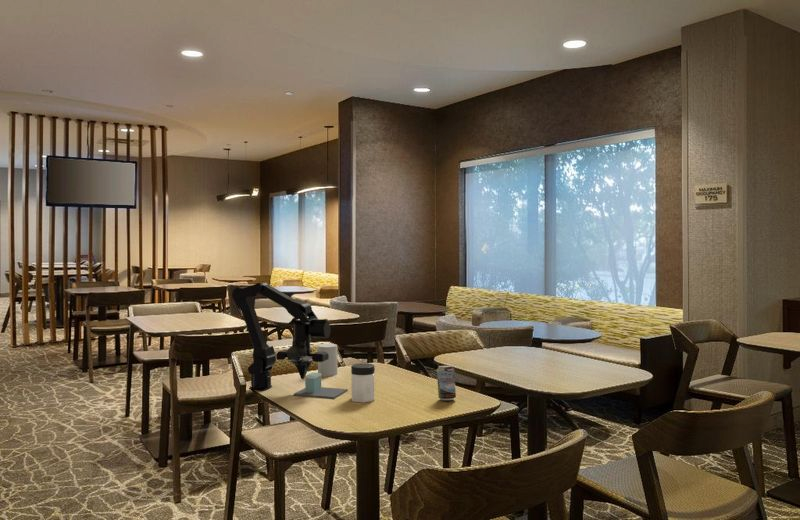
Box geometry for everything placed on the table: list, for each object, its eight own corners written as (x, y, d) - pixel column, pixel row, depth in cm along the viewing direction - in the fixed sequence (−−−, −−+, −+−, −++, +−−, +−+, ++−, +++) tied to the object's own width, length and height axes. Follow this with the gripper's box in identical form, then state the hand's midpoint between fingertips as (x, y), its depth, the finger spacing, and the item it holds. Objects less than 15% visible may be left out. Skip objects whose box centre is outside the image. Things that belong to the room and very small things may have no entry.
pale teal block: (305, 392, 220) (305, 376, 220) (312, 388, 226) (312, 372, 226) (314, 393, 219) (314, 376, 219) (321, 389, 225) (321, 373, 224)
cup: (341, 373, 254) (341, 344, 254) (329, 377, 248) (328, 347, 247) (326, 371, 259) (326, 343, 258) (313, 374, 252) (313, 346, 252)
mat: (293, 395, 218) (293, 393, 218) (308, 387, 229) (308, 386, 229) (334, 398, 213) (334, 397, 213) (347, 390, 225) (347, 389, 225)
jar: (357, 404, 206) (357, 369, 206) (346, 399, 213) (346, 365, 212) (380, 400, 211) (379, 366, 211) (368, 395, 218) (368, 362, 217)
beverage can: (444, 403, 206) (444, 368, 206) (433, 398, 213) (433, 364, 213) (459, 401, 209) (459, 366, 209) (448, 396, 216) (448, 362, 215)
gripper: (268, 339, 218) (269, 382, 219) (315, 341, 212) (316, 385, 213) (283, 334, 229) (284, 375, 229) (328, 336, 223) (329, 378, 223)
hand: (302, 378), depth 223 cm, fingers closed
